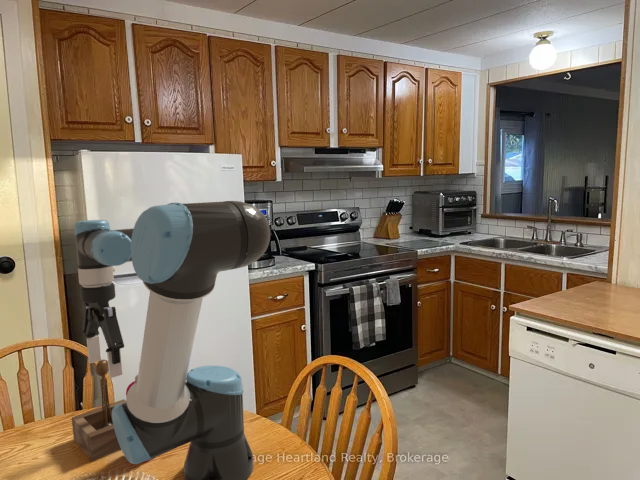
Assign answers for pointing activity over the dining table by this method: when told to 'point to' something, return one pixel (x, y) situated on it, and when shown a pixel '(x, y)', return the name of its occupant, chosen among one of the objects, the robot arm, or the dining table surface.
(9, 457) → the dining table surface
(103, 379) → the wooden tabletop sculpture
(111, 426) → the box
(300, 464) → the dining table surface
